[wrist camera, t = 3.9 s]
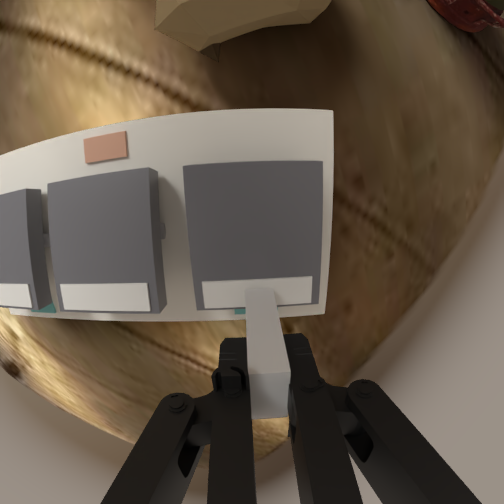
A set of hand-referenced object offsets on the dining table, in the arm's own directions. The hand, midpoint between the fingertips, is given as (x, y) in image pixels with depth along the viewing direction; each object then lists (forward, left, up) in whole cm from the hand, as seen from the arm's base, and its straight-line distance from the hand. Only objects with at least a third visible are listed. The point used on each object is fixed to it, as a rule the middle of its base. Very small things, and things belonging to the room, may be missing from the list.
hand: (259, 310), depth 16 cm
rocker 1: (-4, -18, -2) cm, 19 cm away
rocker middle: (-4, -9, -2) cm, 10 cm away
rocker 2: (-4, 0, -2) cm, 4 cm away
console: (-4, -9, -9) cm, 13 cm away
